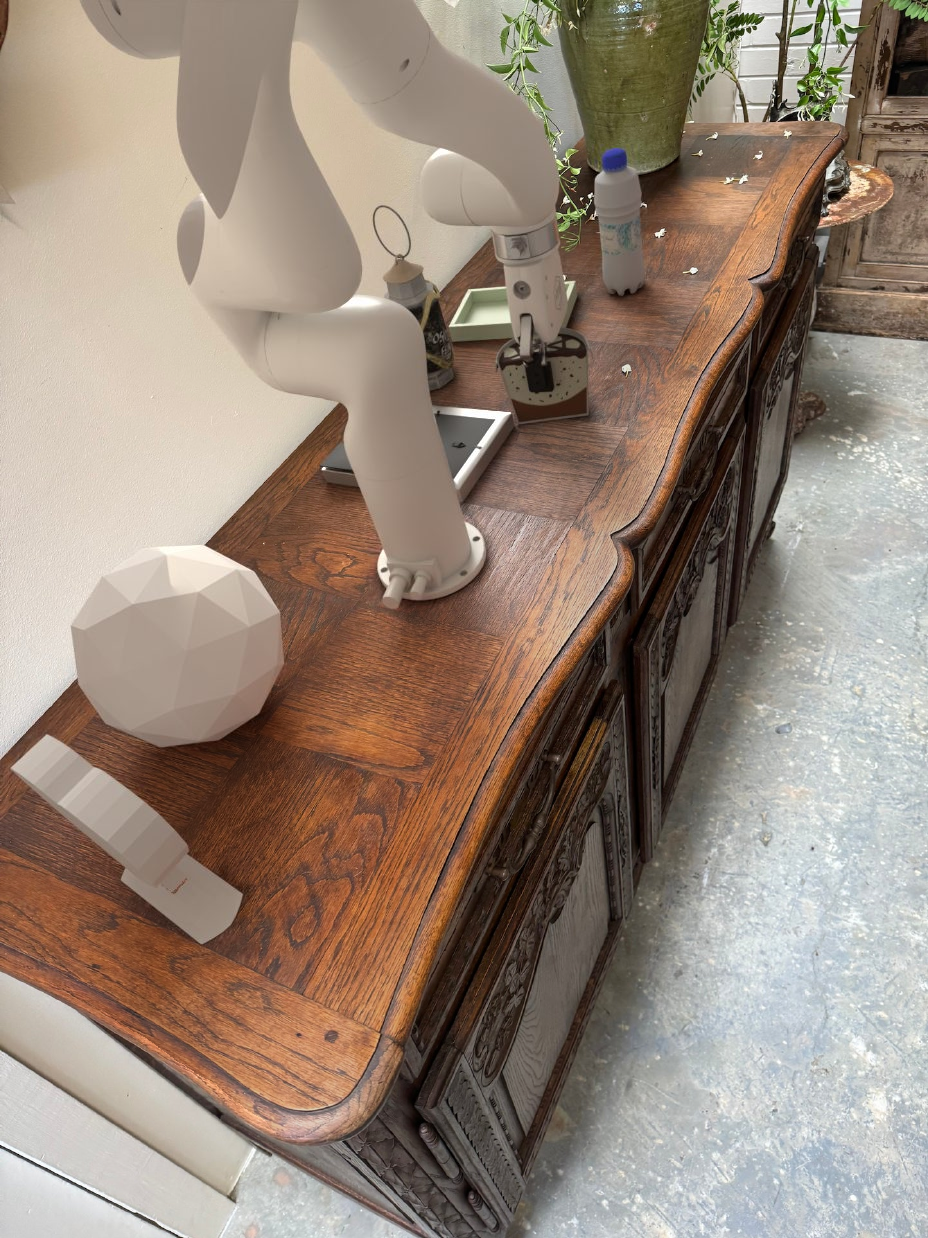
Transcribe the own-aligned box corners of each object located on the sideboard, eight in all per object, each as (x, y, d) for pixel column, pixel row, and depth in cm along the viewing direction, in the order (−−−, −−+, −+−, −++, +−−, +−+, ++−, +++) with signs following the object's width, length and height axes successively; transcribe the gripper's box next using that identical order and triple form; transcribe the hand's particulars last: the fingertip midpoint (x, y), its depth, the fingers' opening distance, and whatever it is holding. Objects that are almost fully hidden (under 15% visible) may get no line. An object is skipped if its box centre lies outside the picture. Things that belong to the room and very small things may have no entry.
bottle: (594, 289, 131) (580, 153, 116) (631, 273, 132) (621, 135, 117) (618, 304, 126) (605, 163, 112) (655, 287, 127) (648, 146, 113)
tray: (563, 335, 123) (561, 319, 122) (451, 341, 129) (448, 326, 128) (577, 295, 131) (575, 280, 129) (471, 303, 137) (468, 289, 135)
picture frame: (326, 482, 111) (462, 502, 102) (319, 465, 109) (457, 484, 100) (384, 413, 120) (514, 426, 110) (378, 395, 118) (511, 407, 108)
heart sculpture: (258, 905, 71) (157, 794, 58) (216, 957, 68) (102, 853, 56) (148, 826, 79) (38, 714, 66) (107, 870, 77) (-14, 762, 64)
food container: (599, 387, 112) (591, 318, 105) (600, 413, 108) (591, 343, 101) (509, 400, 115) (495, 333, 108) (506, 425, 111) (491, 358, 104)
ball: (294, 725, 93) (347, 638, 77) (118, 811, 81) (139, 728, 65) (210, 589, 97) (245, 481, 82) (31, 651, 85) (32, 538, 70)
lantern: (471, 371, 122) (429, 195, 104) (433, 400, 119) (383, 223, 101) (430, 358, 127) (383, 188, 109) (392, 386, 124) (338, 215, 106)
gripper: (541, 270, 89) (563, 413, 101) (572, 200, 99) (588, 337, 112) (474, 276, 91) (504, 415, 104) (511, 207, 102) (534, 340, 115)
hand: (547, 373), depth 108 cm, fingers closed on food container, 6 cm apart
